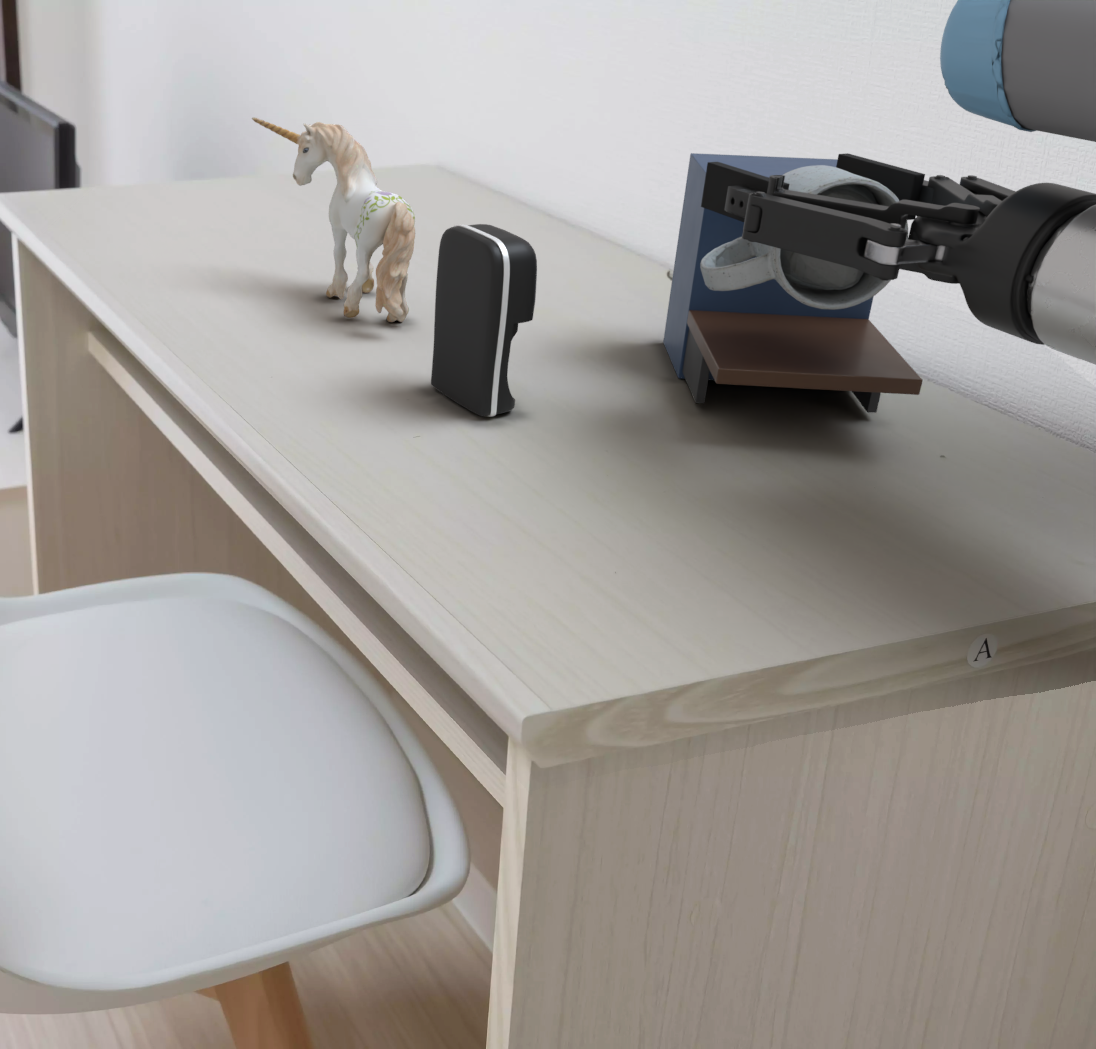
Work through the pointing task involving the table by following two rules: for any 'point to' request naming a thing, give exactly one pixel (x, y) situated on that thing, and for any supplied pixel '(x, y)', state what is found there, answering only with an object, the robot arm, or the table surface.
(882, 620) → the table surface
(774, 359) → the blue chair shape
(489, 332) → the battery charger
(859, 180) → the ceramic mug
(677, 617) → the table surface
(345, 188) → the unicorn figurine
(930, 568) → the table surface
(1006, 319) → the robot arm
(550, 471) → the table surface
